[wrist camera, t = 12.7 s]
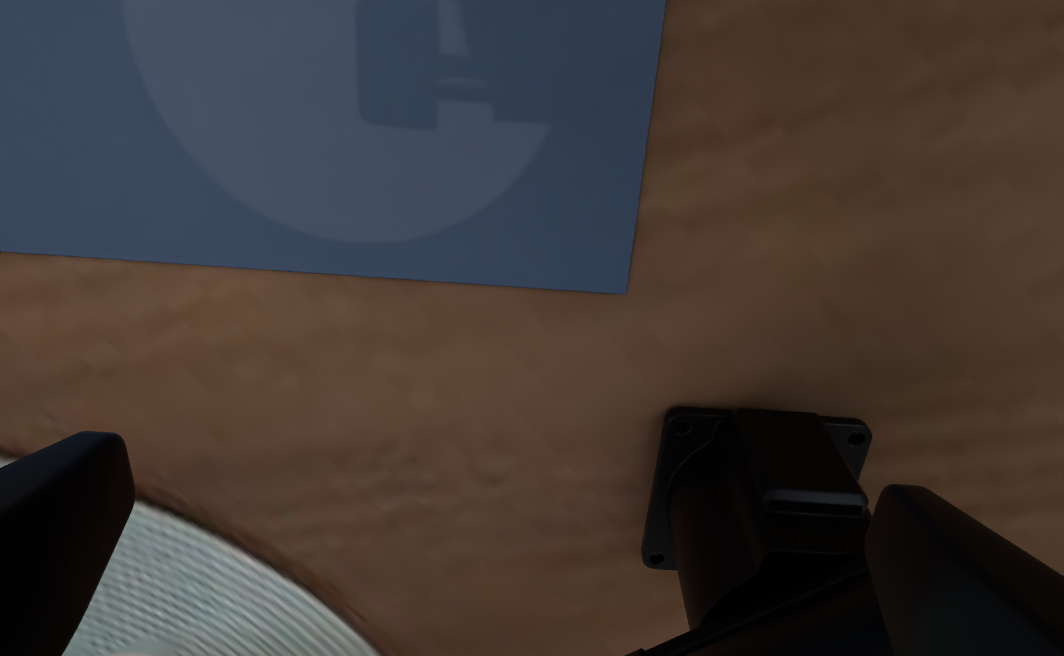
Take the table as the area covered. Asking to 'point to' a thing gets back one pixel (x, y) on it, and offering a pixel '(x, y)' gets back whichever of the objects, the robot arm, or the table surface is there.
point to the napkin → (332, 135)
